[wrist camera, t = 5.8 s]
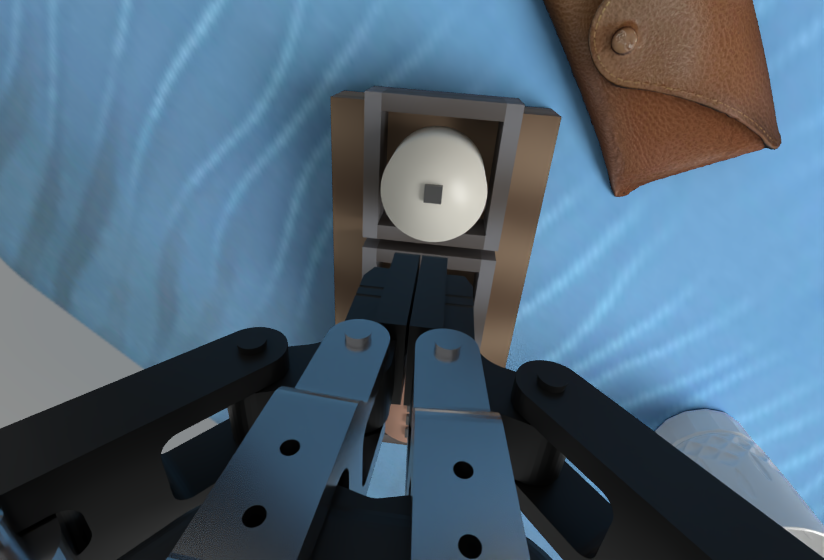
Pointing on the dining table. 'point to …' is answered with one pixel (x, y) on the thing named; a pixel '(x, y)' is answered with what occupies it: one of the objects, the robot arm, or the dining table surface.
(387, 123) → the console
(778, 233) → the dining table surface
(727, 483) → the white cup
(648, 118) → the sunglasses case
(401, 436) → the button three
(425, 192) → the button one
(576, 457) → the robot arm
